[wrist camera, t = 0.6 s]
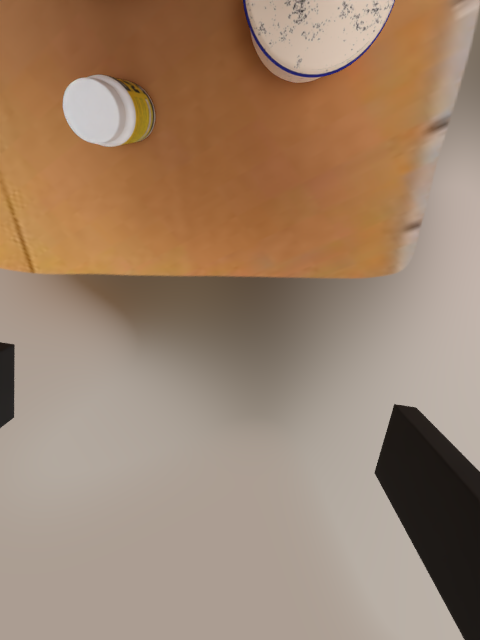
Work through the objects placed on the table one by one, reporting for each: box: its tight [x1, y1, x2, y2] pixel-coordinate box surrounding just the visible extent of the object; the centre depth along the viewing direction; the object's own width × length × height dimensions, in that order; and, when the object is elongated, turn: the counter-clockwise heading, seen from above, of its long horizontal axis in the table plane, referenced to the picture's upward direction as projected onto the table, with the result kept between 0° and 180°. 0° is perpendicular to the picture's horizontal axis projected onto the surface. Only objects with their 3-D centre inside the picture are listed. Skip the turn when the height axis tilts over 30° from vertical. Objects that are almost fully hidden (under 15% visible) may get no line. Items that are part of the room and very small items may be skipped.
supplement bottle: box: [63, 75, 155, 147], centre depth 28 cm, size 5×5×8 cm
